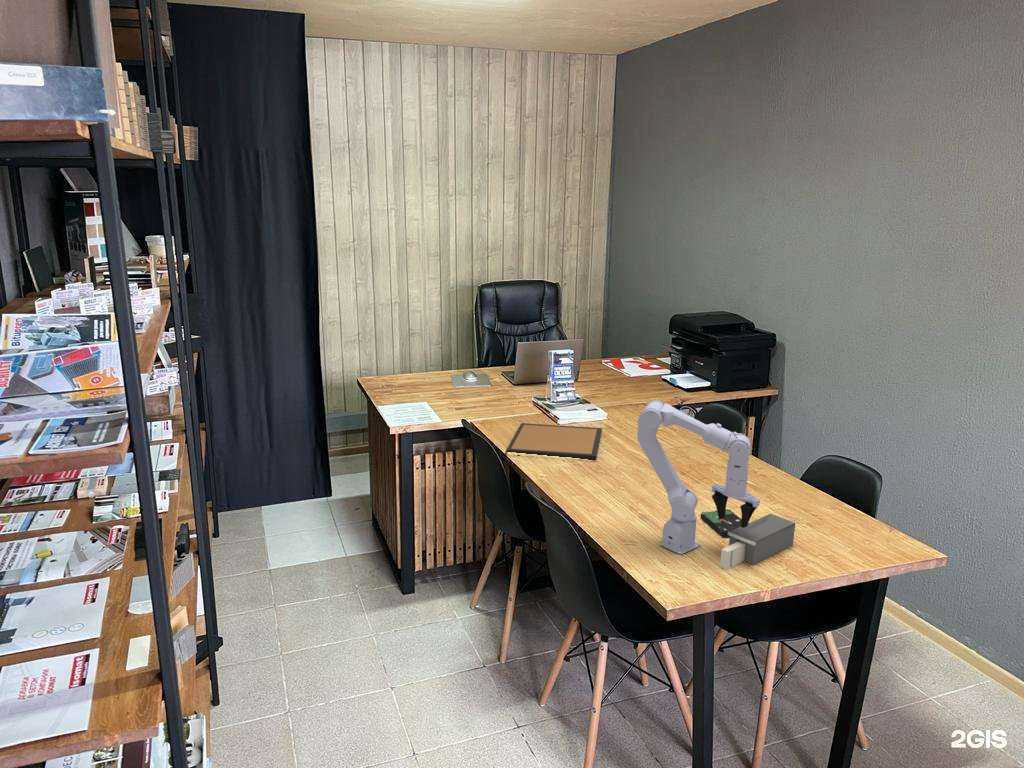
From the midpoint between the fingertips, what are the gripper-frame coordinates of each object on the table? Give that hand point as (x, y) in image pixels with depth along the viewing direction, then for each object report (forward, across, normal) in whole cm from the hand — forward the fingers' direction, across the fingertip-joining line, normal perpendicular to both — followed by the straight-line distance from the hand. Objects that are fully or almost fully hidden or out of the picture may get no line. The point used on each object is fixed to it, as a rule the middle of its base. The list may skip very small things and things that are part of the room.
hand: (732, 522), depth 214 cm
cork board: (+10, +102, -26) cm, 106 cm away
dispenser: (+10, -5, -8) cm, 13 cm away
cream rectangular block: (+10, -4, +1) cm, 11 cm away
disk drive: (+10, +11, -14) cm, 21 cm away
